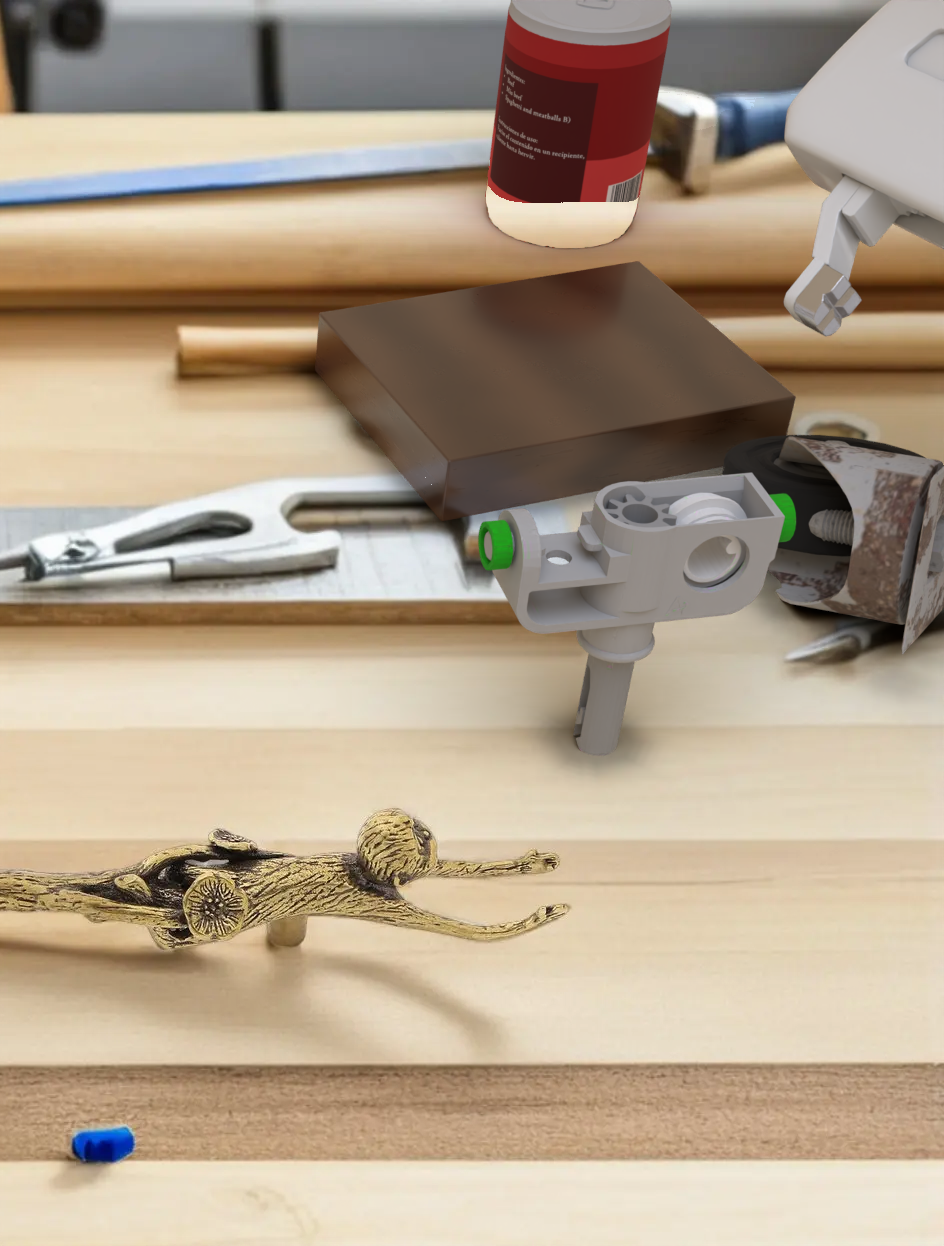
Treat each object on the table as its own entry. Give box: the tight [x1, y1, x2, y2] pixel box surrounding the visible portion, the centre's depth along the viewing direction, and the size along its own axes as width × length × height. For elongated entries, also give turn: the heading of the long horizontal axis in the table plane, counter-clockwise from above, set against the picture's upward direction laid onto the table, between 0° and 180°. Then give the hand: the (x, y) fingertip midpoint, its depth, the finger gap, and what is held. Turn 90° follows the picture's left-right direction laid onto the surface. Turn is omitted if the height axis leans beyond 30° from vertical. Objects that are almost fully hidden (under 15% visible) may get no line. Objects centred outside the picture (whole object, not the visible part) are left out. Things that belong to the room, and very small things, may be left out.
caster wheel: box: [721, 434, 944, 655], centre depth 81 cm, size 7×11×10 cm
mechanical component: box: [477, 473, 796, 757], centre depth 71 cm, size 3×10×10 cm, turn 101°
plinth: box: [314, 260, 797, 522], centre depth 90 cm, size 16×13×3 cm
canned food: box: [484, 0, 673, 203], centre depth 102 cm, size 8×8×11 cm
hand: (906, 379), depth 69 cm, fingers open, 8 cm apart
